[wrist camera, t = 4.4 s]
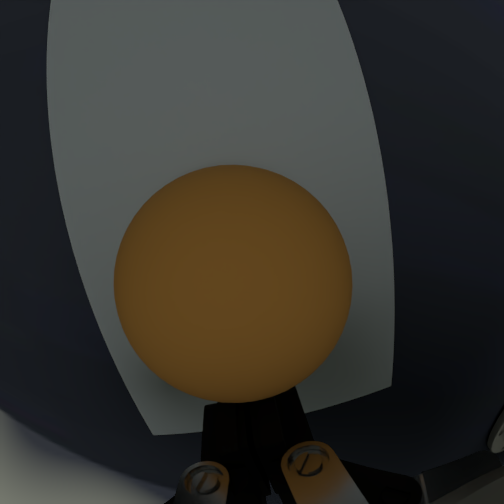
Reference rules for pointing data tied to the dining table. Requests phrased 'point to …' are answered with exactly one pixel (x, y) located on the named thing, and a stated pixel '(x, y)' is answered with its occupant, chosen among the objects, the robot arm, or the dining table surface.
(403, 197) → the dining table surface
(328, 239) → the ball
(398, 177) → the dining table surface
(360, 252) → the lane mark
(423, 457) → the dining table surface
